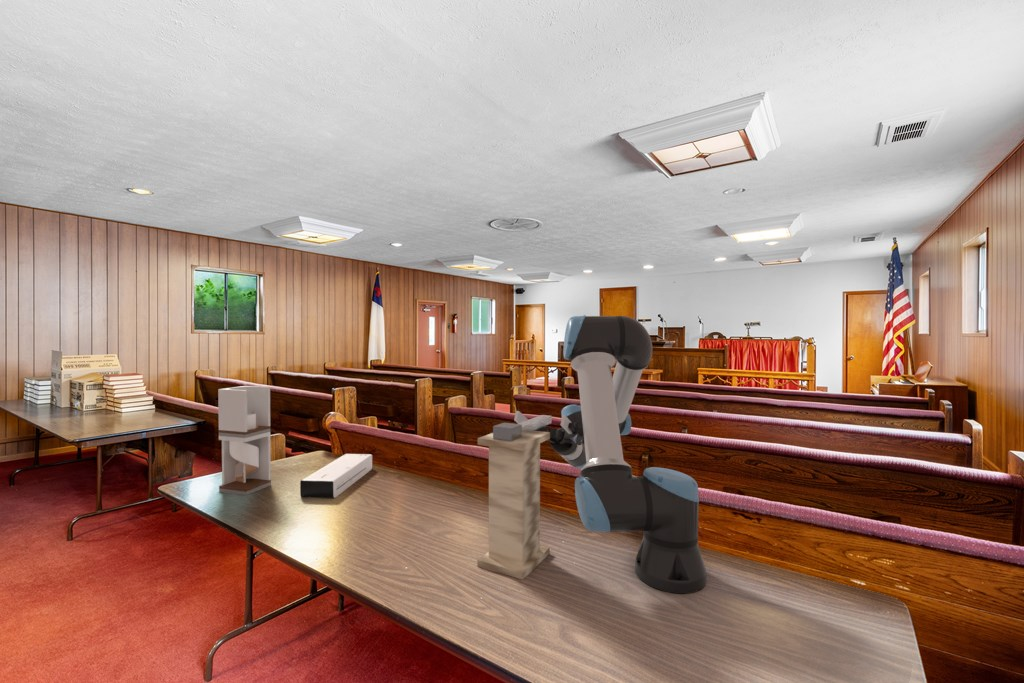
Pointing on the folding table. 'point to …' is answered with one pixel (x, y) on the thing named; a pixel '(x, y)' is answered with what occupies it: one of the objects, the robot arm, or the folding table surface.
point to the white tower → (245, 438)
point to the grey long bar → (519, 428)
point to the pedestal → (514, 505)
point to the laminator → (336, 476)
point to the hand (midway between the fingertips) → (538, 417)
